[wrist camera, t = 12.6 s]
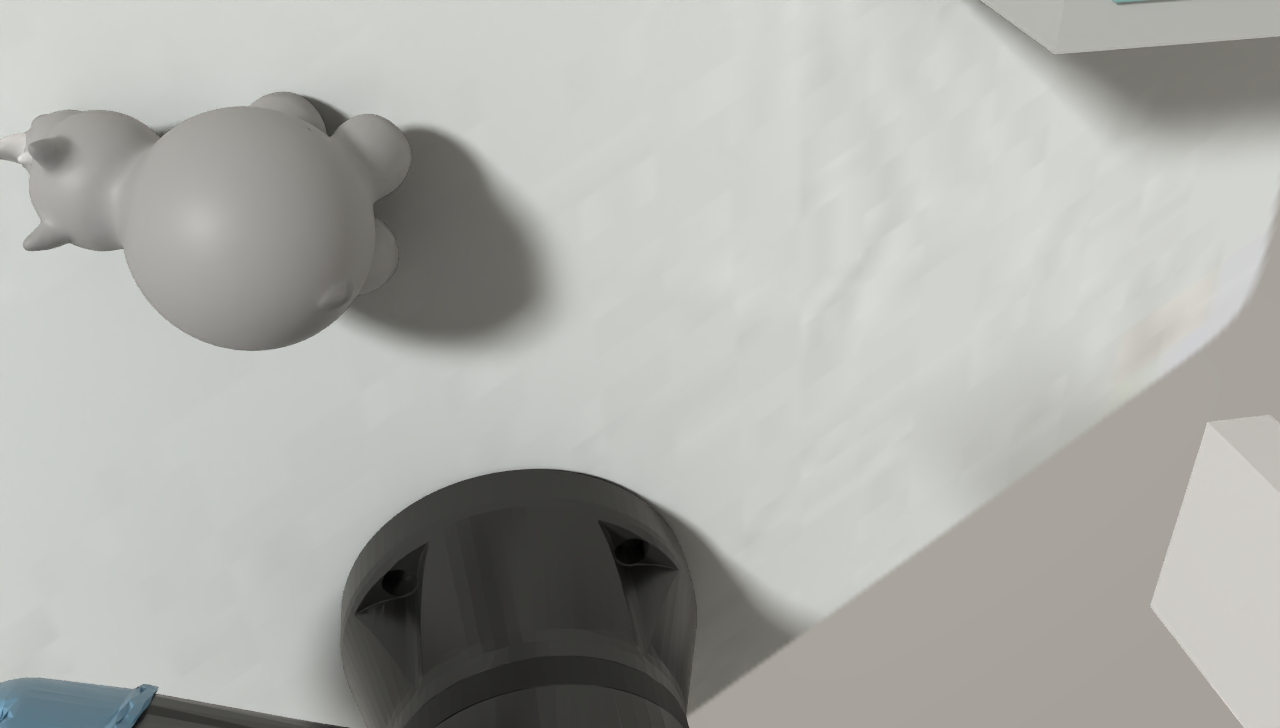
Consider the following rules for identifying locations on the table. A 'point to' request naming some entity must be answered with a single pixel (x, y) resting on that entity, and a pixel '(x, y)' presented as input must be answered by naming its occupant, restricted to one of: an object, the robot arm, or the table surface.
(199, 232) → the chubby cartoon animal
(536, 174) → the table surface
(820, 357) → the table surface
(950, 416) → the table surface
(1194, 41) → the mounted module
